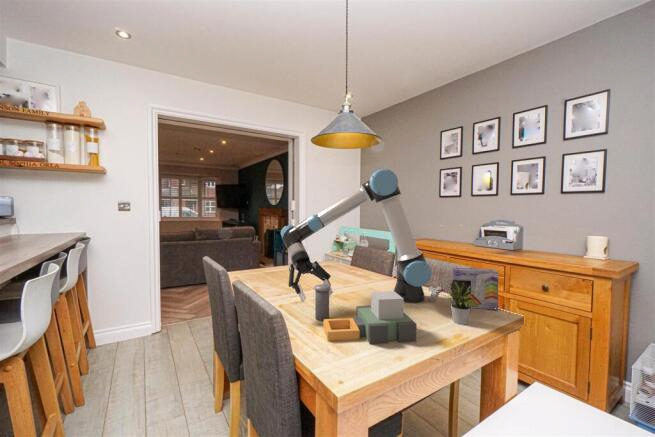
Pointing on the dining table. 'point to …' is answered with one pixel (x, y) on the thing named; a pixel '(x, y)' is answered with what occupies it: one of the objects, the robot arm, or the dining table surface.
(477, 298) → the cake pan box
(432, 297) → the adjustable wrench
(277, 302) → the dining table surface
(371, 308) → the green corner-block plate
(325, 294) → the grey flared cylinder
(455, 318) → the house plant
